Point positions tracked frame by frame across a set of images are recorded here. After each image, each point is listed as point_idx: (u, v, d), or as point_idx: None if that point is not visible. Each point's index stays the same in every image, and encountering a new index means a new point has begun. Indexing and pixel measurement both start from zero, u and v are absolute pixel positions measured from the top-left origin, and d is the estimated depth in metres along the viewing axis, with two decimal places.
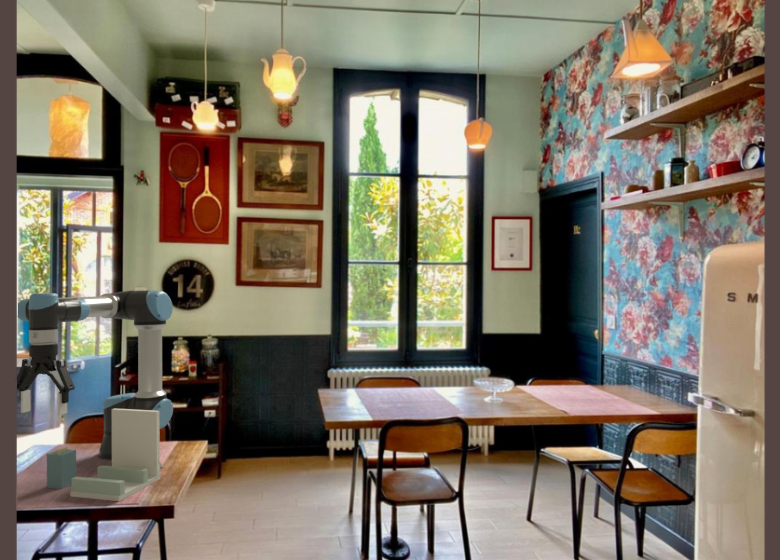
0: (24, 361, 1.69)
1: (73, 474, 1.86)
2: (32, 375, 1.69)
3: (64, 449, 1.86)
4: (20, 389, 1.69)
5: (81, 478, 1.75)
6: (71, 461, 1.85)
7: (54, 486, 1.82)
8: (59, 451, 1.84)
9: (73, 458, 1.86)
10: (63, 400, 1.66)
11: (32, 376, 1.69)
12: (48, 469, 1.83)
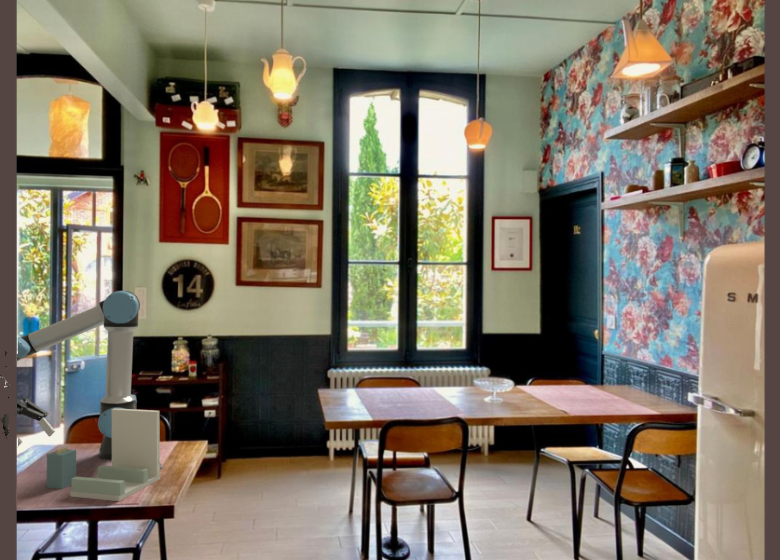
0: None
1: (73, 474, 1.86)
2: (22, 413, 1.92)
3: (64, 449, 1.86)
4: None
5: (81, 478, 1.75)
6: (71, 461, 1.85)
7: (54, 486, 1.82)
8: (59, 451, 1.84)
9: (73, 458, 1.86)
10: None
11: (24, 413, 1.92)
12: (48, 469, 1.83)
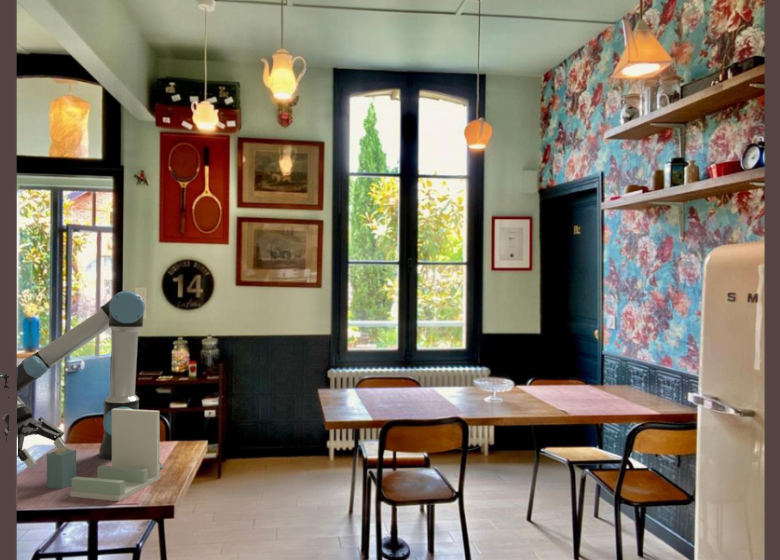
0: None
1: (73, 474, 1.86)
2: (38, 433, 1.90)
3: (64, 449, 1.86)
4: None
5: (81, 478, 1.75)
6: (71, 461, 1.85)
7: (54, 486, 1.82)
8: (59, 451, 1.84)
9: (73, 458, 1.86)
10: None
11: (40, 433, 1.91)
12: (48, 469, 1.83)
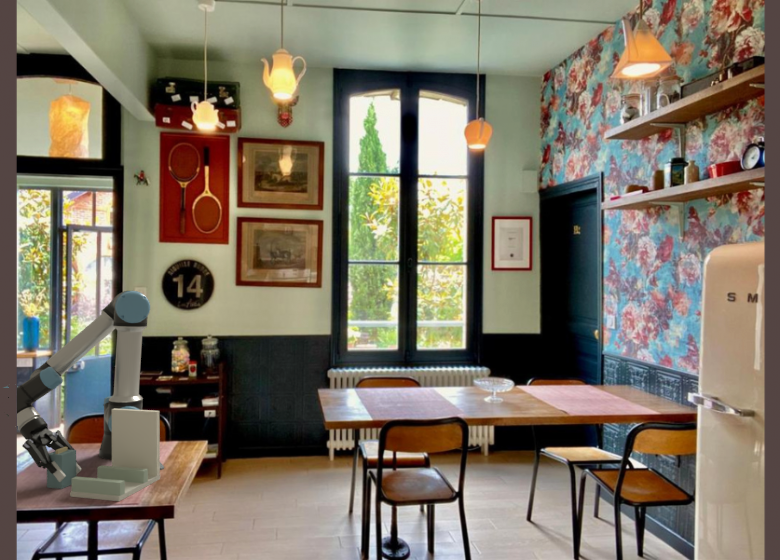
0: None
1: (73, 474, 1.86)
2: (51, 446, 1.88)
3: (64, 449, 1.86)
4: None
5: (81, 478, 1.75)
6: (71, 461, 1.85)
7: (54, 486, 1.82)
8: (59, 451, 1.84)
9: (73, 458, 1.86)
10: None
11: (53, 447, 1.88)
12: None
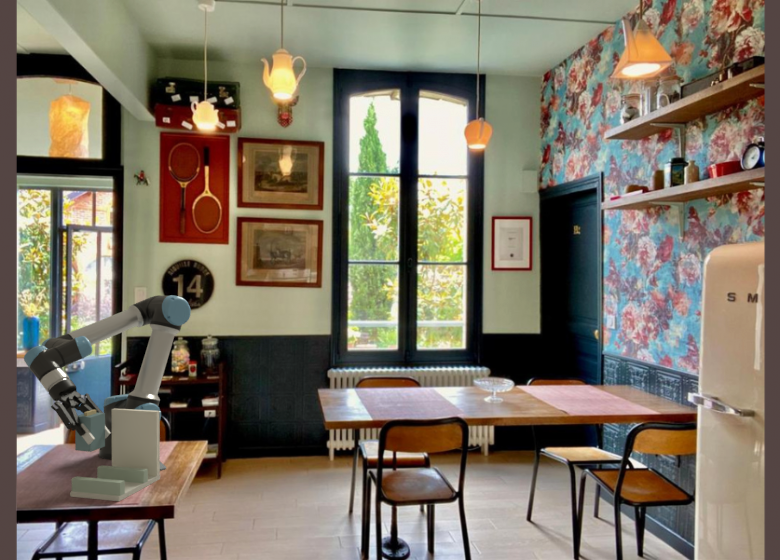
0: None
1: (102, 437, 1.81)
2: (80, 409, 1.83)
3: (93, 412, 1.81)
4: None
5: (81, 478, 1.75)
6: (100, 424, 1.80)
7: (83, 449, 1.77)
8: (88, 413, 1.79)
9: (102, 421, 1.81)
10: None
11: (81, 409, 1.83)
12: None
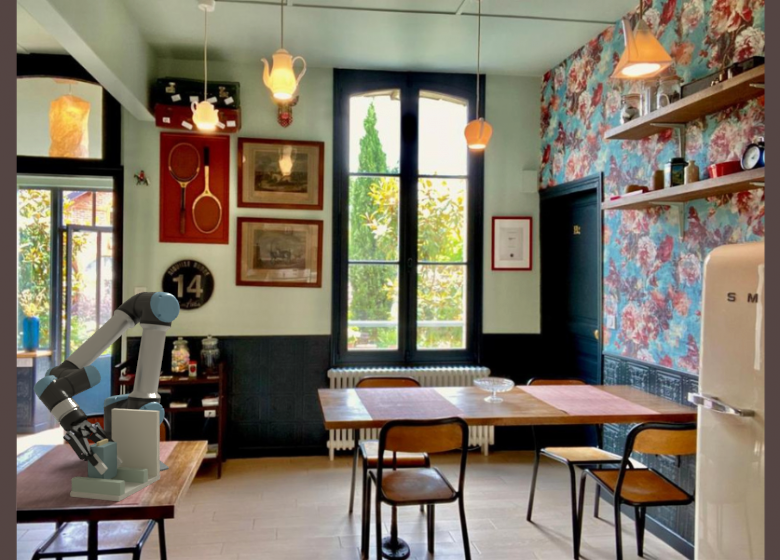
0: None
1: (114, 467, 1.81)
2: (91, 438, 1.84)
3: (105, 441, 1.81)
4: None
5: (81, 478, 1.75)
6: (112, 453, 1.81)
7: None
8: (100, 443, 1.79)
9: (114, 451, 1.81)
10: None
11: (92, 439, 1.84)
12: None
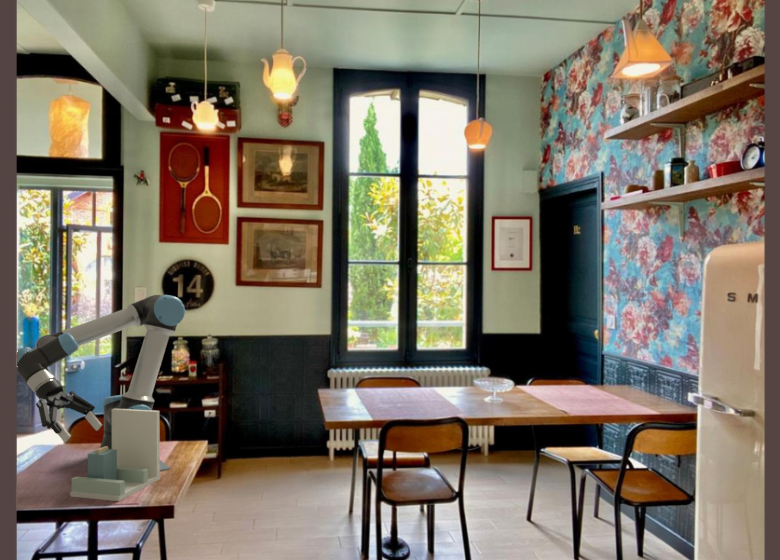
0: None
1: (114, 474, 1.81)
2: (69, 407, 1.87)
3: (105, 448, 1.81)
4: None
5: (81, 478, 1.75)
6: (112, 461, 1.80)
7: None
8: (100, 451, 1.79)
9: (114, 458, 1.81)
10: None
11: (71, 407, 1.87)
12: (89, 469, 1.78)
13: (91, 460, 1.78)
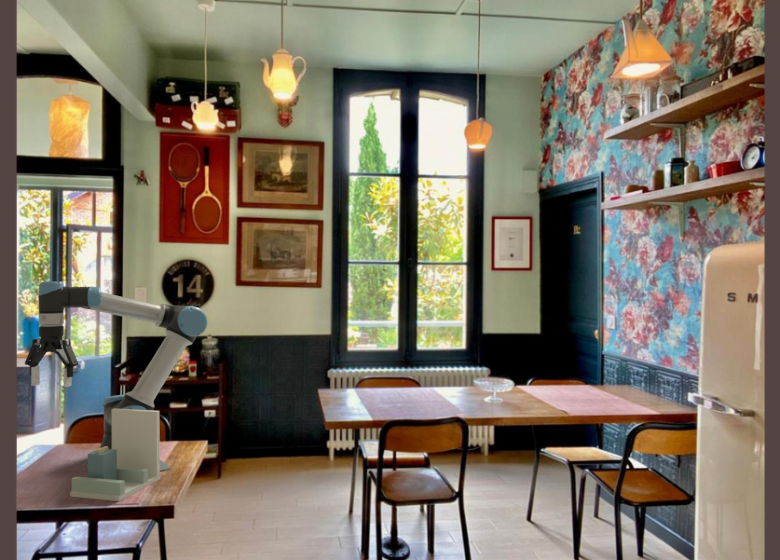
0: (34, 341, 1.94)
1: (114, 474, 1.81)
2: (41, 353, 1.93)
3: (105, 448, 1.81)
4: (31, 365, 1.94)
5: (81, 478, 1.75)
6: (112, 461, 1.80)
7: None
8: (100, 451, 1.79)
9: (114, 458, 1.81)
10: (68, 374, 1.91)
11: (41, 354, 1.94)
12: (89, 469, 1.78)
13: (91, 460, 1.78)
